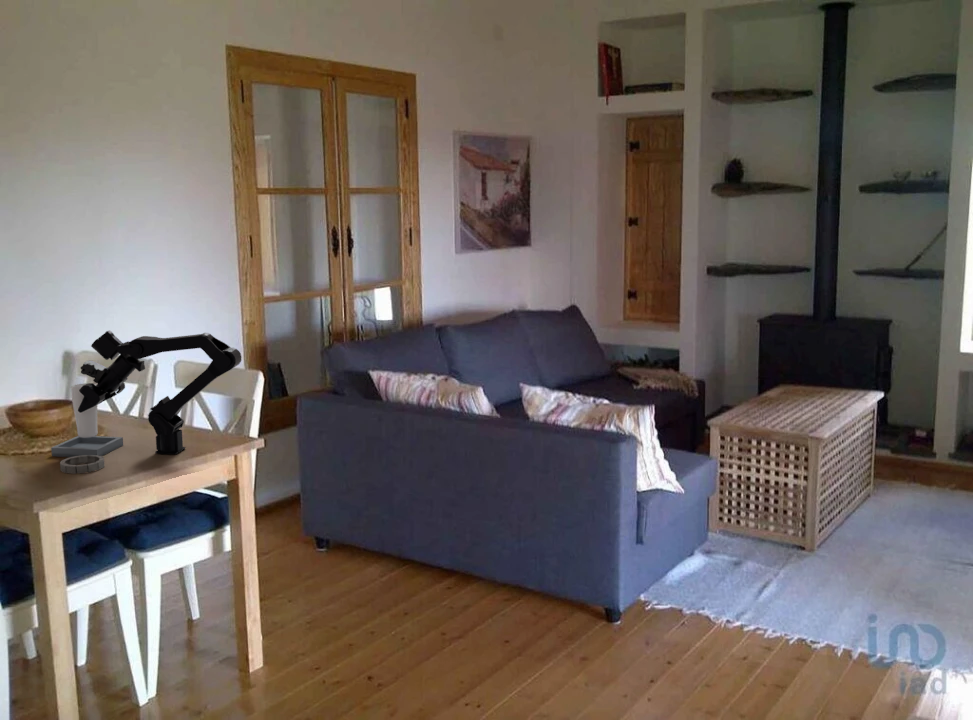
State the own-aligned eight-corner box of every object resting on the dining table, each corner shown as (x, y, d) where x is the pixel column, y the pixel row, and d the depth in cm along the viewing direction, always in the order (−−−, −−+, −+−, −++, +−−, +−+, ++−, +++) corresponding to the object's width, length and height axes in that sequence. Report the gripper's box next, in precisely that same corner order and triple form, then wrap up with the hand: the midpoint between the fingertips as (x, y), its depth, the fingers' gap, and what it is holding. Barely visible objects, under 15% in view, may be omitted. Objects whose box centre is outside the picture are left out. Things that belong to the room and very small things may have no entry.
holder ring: (112, 462, 263) (111, 455, 263) (90, 474, 253) (89, 467, 252) (75, 461, 265) (75, 454, 265) (52, 472, 254) (51, 465, 254)
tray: (123, 445, 281) (122, 437, 281) (97, 458, 268) (96, 449, 267) (79, 443, 283) (79, 435, 283) (51, 456, 270) (51, 447, 269)
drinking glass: (76, 434, 277) (71, 384, 274) (101, 432, 279) (97, 382, 276) (74, 439, 270) (70, 388, 268) (99, 437, 273) (95, 386, 270)
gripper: (111, 346, 279) (77, 383, 282) (83, 357, 261) (47, 396, 263) (139, 372, 281) (106, 408, 283) (114, 385, 262) (78, 424, 264)
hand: (84, 408), depth 273 cm, fingers closed on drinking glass, 7 cm apart
